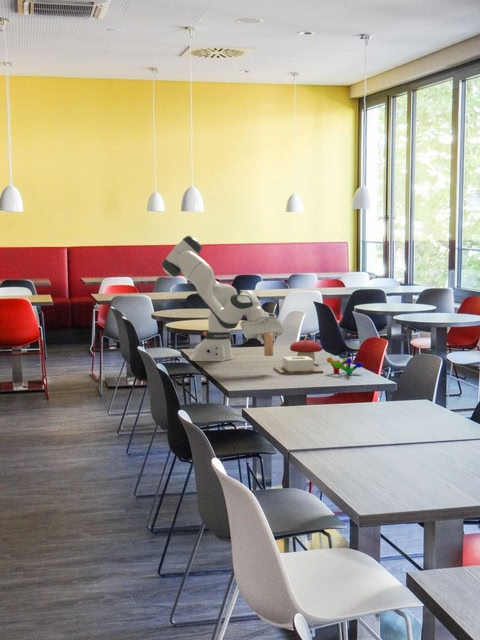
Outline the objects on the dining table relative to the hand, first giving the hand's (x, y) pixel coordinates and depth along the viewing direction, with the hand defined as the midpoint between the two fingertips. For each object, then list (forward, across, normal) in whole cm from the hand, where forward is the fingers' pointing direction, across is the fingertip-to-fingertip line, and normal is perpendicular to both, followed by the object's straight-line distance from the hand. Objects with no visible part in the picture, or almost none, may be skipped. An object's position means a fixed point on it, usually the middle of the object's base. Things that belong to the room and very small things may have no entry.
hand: (269, 342), depth 393 cm
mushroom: (0, +30, +21) cm, 36 cm away
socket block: (+12, +14, +8) cm, 20 cm away
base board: (+12, +14, +8) cm, 20 cm away
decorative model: (+25, +28, -4) cm, 37 cm away
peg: (+4, 0, +5) cm, 6 cm away
